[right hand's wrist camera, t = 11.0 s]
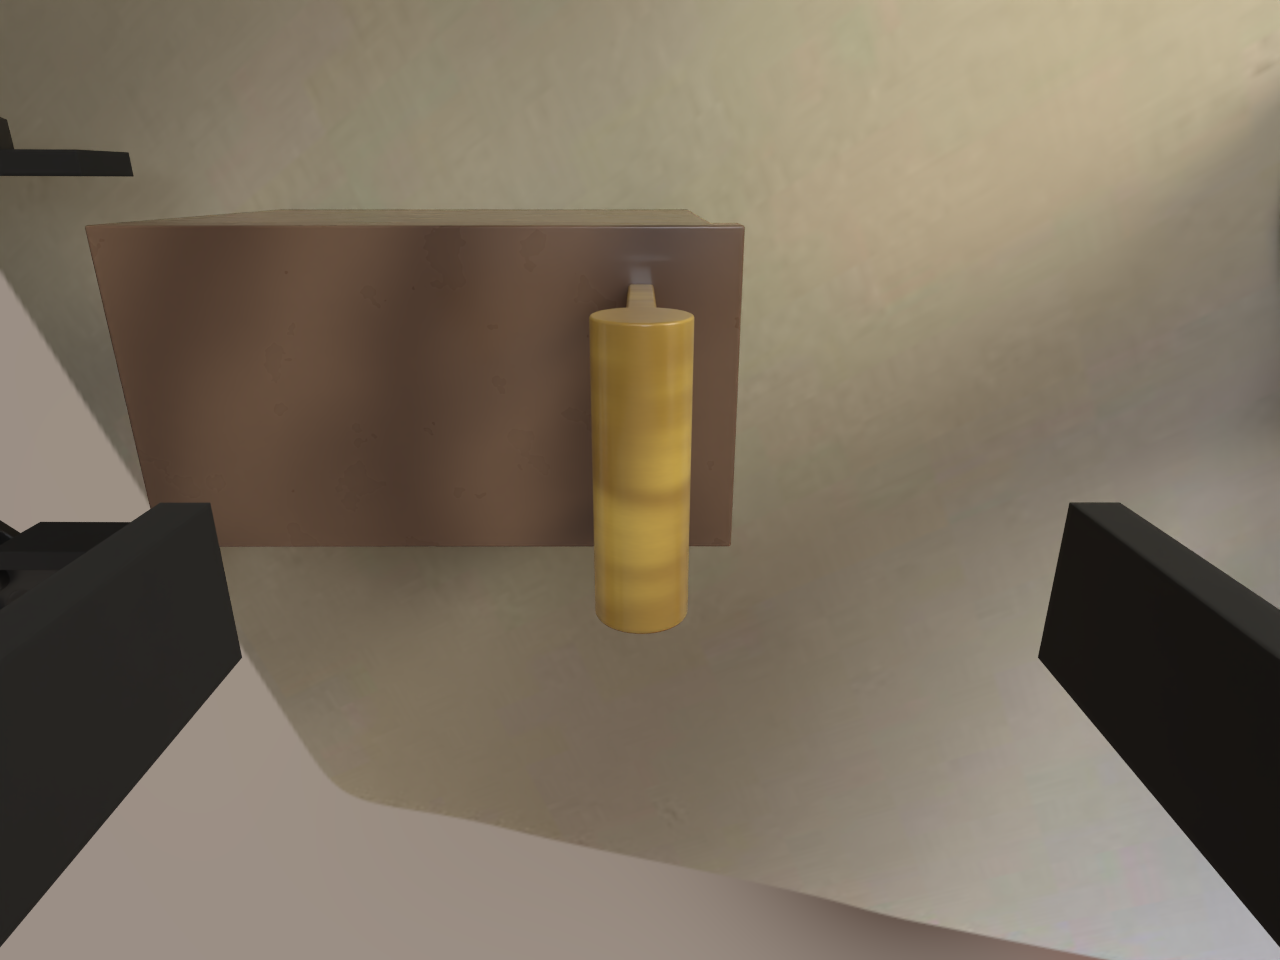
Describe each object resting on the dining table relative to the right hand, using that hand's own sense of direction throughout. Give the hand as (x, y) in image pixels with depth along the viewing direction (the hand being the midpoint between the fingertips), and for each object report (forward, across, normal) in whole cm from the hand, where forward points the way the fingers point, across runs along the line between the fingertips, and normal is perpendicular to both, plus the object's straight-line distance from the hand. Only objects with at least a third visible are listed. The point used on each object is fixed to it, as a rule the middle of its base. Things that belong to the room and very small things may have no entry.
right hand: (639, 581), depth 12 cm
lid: (+12, -6, 0) cm, 14 cm away
